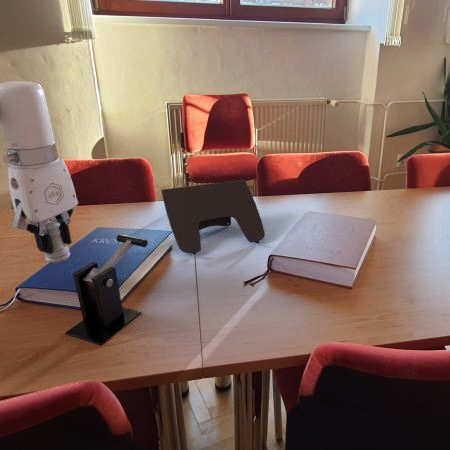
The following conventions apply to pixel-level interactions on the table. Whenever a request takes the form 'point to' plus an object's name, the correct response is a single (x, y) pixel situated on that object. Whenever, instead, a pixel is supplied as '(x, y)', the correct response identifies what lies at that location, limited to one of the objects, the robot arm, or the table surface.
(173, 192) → the laptop tray
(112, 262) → the lever
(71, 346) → the table surface
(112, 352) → the table surface
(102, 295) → the bracket
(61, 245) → the rook chess piece
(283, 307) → the table surface
